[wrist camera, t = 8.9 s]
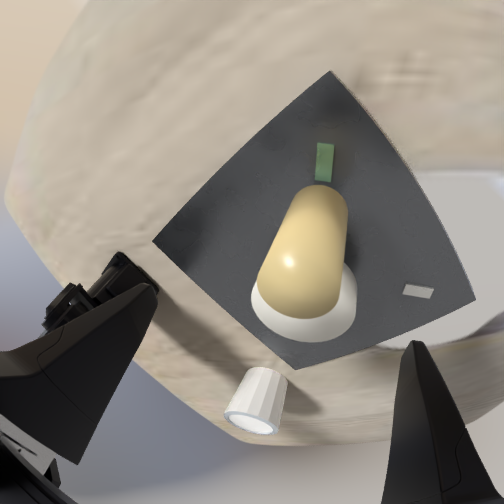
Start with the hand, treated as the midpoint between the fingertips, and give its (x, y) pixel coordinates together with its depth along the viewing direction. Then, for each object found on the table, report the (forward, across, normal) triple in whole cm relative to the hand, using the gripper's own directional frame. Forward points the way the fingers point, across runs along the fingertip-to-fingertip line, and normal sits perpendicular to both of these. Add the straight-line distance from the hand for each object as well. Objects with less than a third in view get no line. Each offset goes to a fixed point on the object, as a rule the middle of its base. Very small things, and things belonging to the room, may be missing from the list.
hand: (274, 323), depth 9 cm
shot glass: (+13, +3, +27) cm, 31 cm away
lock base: (+13, 0, +7) cm, 15 cm away
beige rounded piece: (+9, 0, +4) cm, 10 cm away
